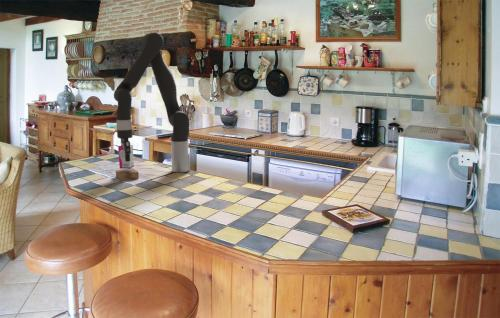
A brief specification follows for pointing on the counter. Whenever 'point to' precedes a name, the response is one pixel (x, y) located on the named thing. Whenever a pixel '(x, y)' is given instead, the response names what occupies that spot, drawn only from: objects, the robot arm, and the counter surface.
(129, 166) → the supplement box
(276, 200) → the counter surface
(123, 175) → the brown cardboard box
